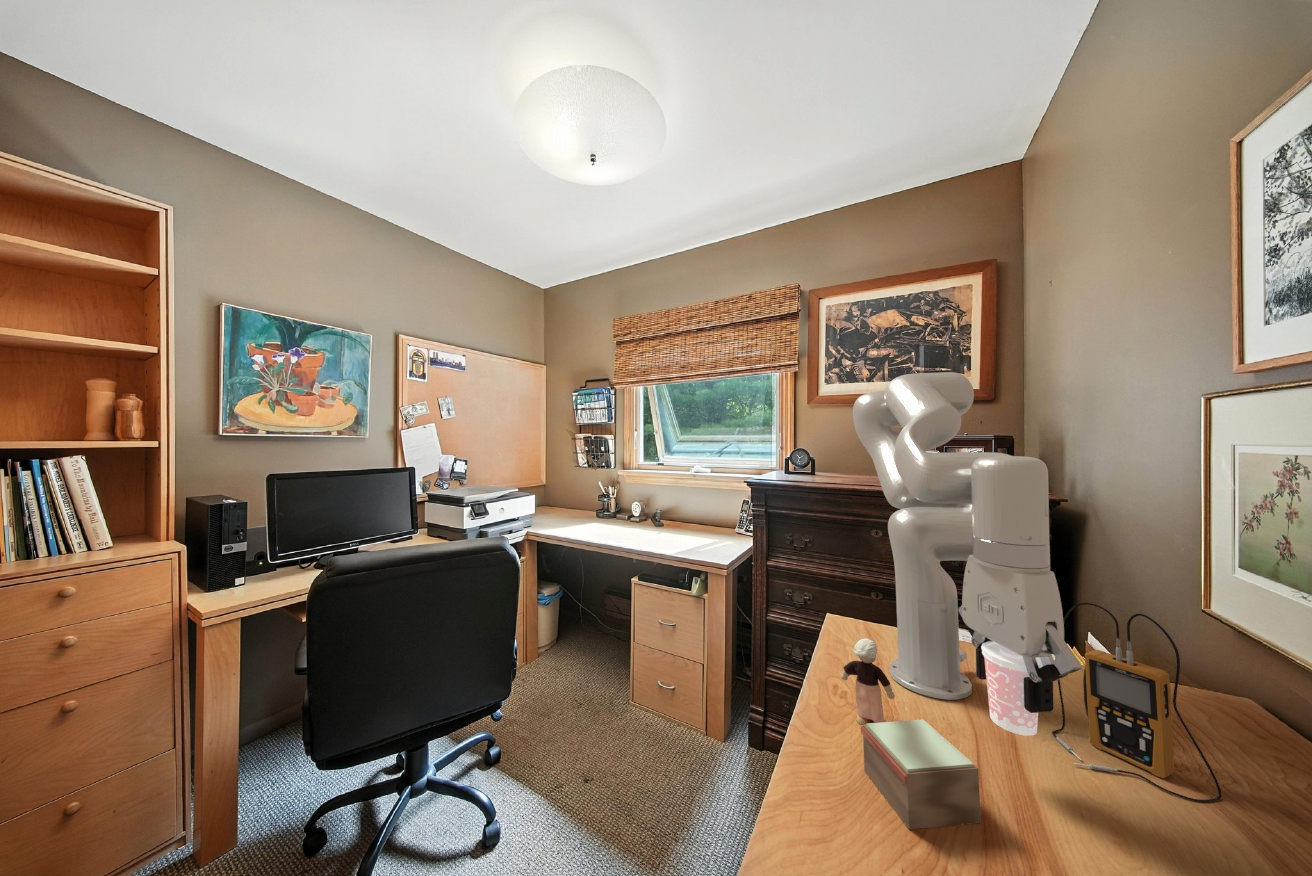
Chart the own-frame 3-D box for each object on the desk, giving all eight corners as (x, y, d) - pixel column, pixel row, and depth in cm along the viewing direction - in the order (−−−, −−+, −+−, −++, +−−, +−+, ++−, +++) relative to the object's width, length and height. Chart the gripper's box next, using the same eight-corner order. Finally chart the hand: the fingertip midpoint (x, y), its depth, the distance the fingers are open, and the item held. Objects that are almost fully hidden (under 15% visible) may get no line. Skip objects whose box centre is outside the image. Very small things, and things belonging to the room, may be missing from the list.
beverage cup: (972, 704, 57) (970, 602, 57) (1024, 709, 55) (1022, 605, 55) (1000, 736, 51) (997, 622, 51) (1059, 743, 49) (1056, 626, 49)
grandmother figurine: (897, 723, 64) (894, 640, 65) (895, 737, 61) (892, 650, 62) (843, 707, 69) (841, 629, 69) (839, 719, 65) (836, 638, 66)
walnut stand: (925, 765, 56) (923, 717, 56) (980, 822, 47) (978, 765, 47) (862, 770, 55) (860, 722, 55) (906, 829, 46) (904, 771, 47)
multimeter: (1029, 743, 60) (1022, 602, 60) (1065, 724, 64) (1059, 592, 64) (1190, 827, 46) (1179, 644, 47) (1224, 797, 50) (1213, 628, 51)
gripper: (931, 537, 61) (934, 659, 61) (1052, 576, 44) (1055, 745, 44) (978, 535, 62) (981, 656, 62) (1116, 573, 45) (1119, 739, 45)
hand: (1012, 691), depth 53 cm, fingers closed on beverage cup, 6 cm apart
